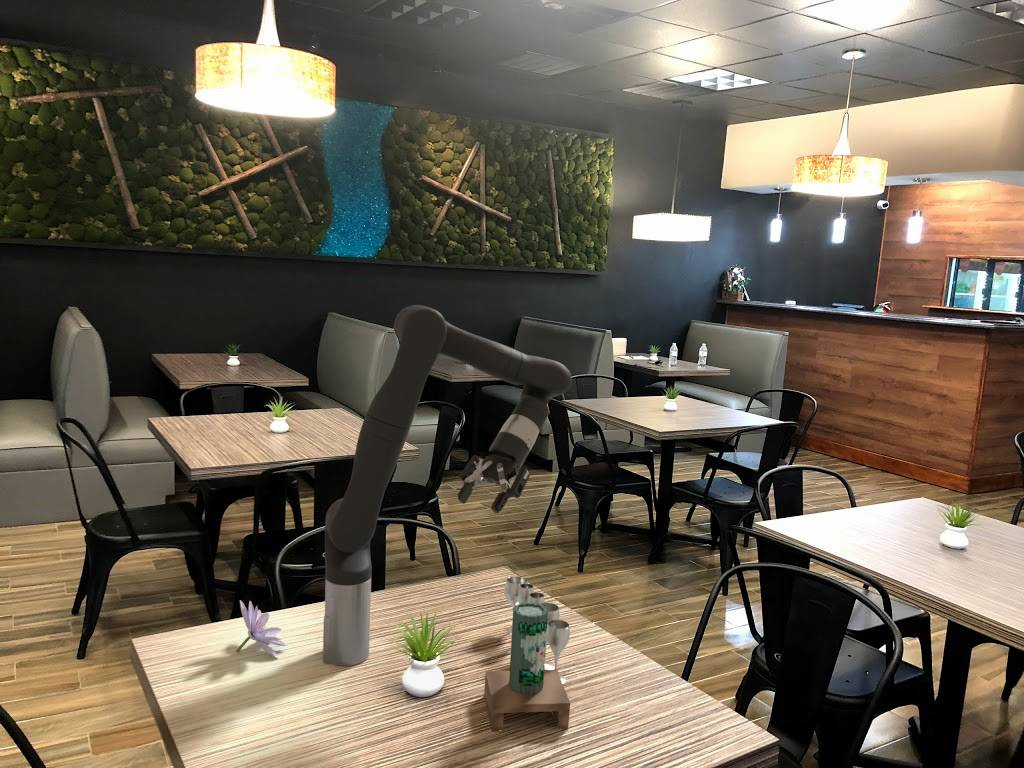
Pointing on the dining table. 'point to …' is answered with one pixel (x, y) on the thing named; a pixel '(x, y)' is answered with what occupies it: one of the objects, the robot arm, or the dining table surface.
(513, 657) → the can
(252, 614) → the water lily
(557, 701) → the walnut shelf
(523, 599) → the goblet set
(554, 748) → the dining table surface
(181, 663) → the dining table surface
